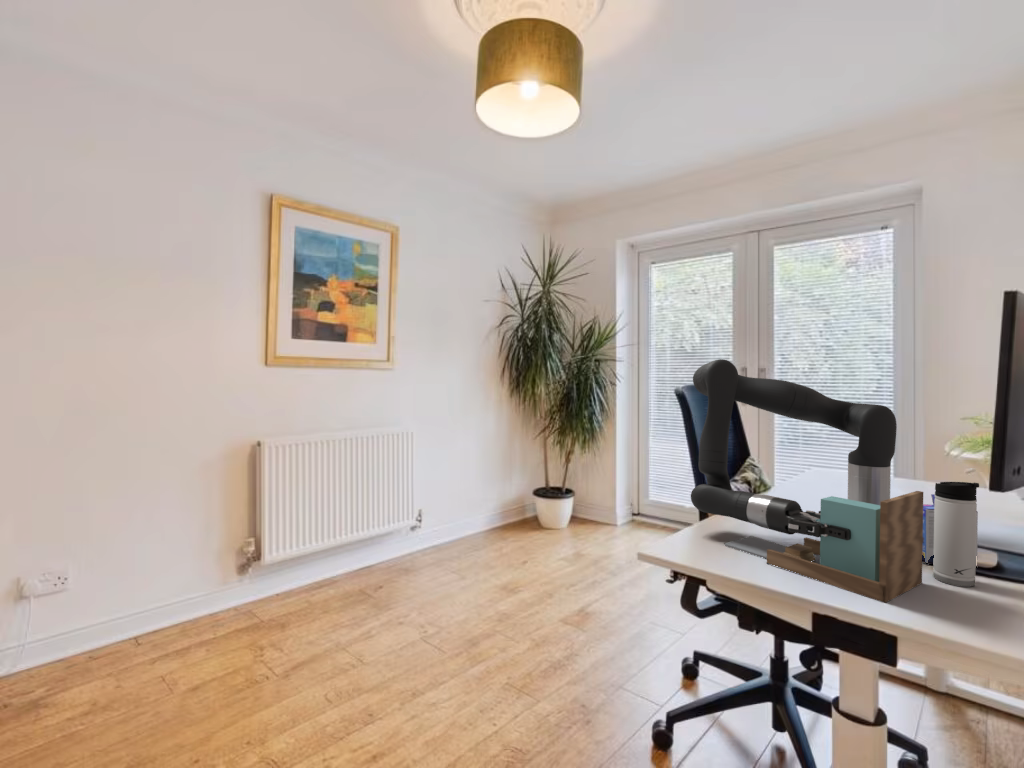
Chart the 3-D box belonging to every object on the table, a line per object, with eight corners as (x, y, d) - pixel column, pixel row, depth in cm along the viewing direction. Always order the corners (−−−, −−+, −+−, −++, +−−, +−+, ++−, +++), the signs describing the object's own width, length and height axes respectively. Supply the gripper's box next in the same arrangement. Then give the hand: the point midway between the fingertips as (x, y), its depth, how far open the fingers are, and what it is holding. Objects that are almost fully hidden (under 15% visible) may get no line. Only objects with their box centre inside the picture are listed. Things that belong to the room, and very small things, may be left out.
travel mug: (968, 590, 95) (970, 485, 95) (926, 578, 101) (928, 478, 100) (983, 584, 98) (985, 482, 97) (942, 572, 104) (943, 476, 103)
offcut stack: (797, 555, 114) (797, 542, 114) (815, 561, 110) (815, 547, 110) (781, 560, 111) (782, 547, 111) (800, 566, 107) (800, 552, 107)
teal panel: (830, 566, 107) (831, 496, 107) (885, 582, 98) (886, 506, 98) (819, 570, 104) (820, 498, 104) (874, 587, 96) (876, 509, 96)
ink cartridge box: (961, 559, 111) (963, 494, 111) (979, 569, 106) (980, 500, 105) (911, 556, 113) (912, 492, 113) (926, 565, 108) (927, 498, 107)
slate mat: (751, 537, 125) (751, 535, 125) (800, 552, 115) (800, 550, 115) (724, 545, 120) (724, 543, 120) (773, 561, 109) (773, 559, 109)
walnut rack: (806, 550, 117) (807, 473, 116) (921, 583, 98) (923, 491, 98) (766, 563, 108) (767, 480, 108) (885, 602, 89) (886, 502, 89)
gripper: (755, 501, 111) (839, 519, 97) (790, 493, 119) (873, 509, 104) (755, 534, 111) (838, 558, 97) (790, 524, 119) (872, 545, 104)
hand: (856, 532), depth 101 cm, fingers closed on teal panel, 4 cm apart
